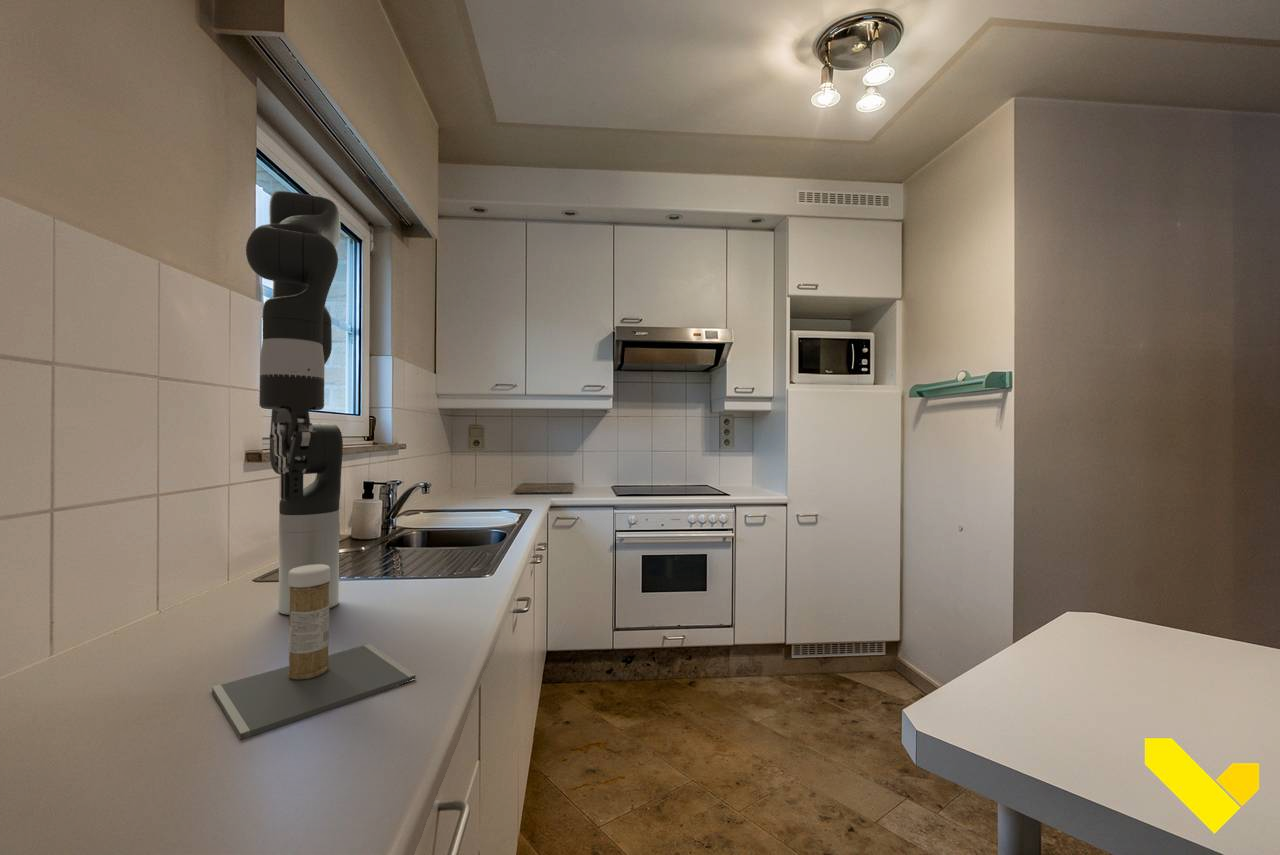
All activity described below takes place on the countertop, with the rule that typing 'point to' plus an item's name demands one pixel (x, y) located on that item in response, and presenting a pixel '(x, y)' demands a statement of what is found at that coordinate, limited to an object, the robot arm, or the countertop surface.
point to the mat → (306, 690)
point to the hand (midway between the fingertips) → (291, 500)
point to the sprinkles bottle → (308, 621)
